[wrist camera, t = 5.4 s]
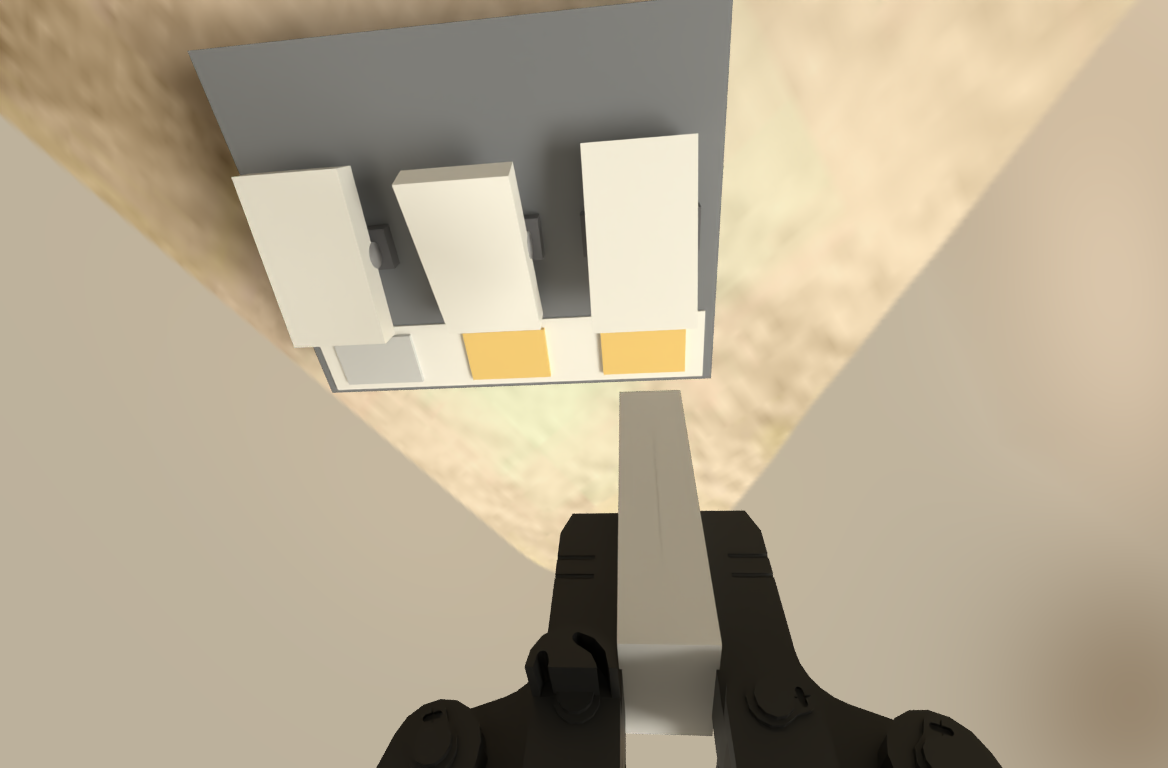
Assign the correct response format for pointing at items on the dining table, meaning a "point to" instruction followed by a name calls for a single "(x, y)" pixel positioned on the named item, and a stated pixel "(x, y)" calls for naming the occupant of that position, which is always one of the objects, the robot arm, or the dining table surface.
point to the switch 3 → (642, 232)
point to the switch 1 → (318, 255)
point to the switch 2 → (473, 245)
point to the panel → (492, 135)
